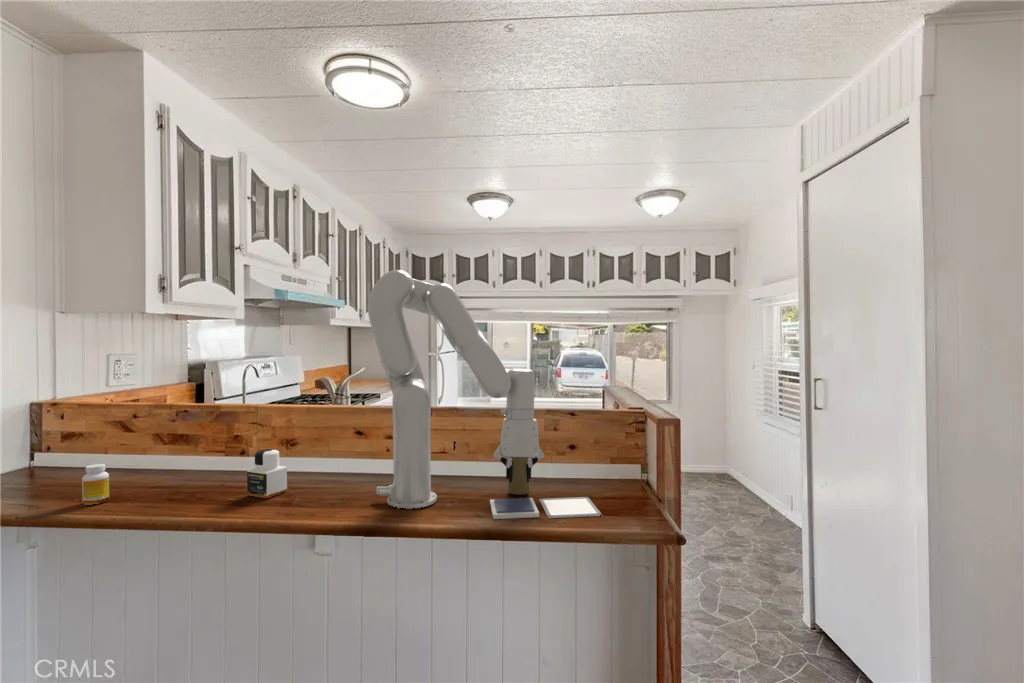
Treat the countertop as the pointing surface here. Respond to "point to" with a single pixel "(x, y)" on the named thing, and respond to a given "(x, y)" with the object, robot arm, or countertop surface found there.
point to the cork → (519, 476)
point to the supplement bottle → (95, 483)
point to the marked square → (569, 507)
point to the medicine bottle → (267, 474)
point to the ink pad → (513, 508)
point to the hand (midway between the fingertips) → (518, 480)
